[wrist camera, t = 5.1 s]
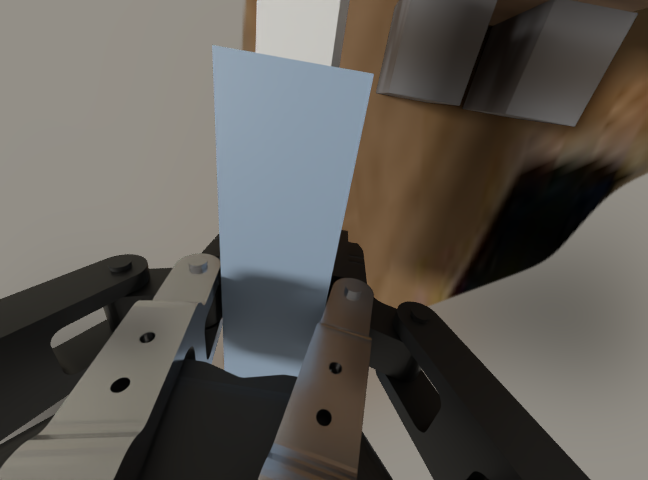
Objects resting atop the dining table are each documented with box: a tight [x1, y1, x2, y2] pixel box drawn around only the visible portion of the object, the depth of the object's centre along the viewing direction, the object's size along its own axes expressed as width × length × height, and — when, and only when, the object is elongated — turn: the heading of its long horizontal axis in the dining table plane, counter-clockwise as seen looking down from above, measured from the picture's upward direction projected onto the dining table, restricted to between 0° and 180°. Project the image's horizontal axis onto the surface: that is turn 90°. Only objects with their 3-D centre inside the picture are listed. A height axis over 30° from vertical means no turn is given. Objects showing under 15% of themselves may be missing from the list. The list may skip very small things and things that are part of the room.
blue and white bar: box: [212, 0, 374, 378], centre depth 9 cm, size 19×3×5 cm, turn 171°
